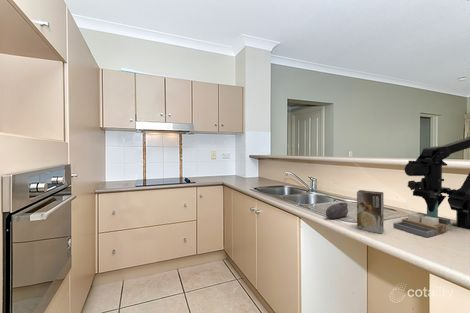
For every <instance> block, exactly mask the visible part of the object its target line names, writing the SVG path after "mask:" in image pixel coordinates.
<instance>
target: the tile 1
mask: <svg viewBox="0 0 470 313" xmlns="http://www.w3.org/2000/svg"><path fill="white" fill-rule="evenodd" d="M407 214H408V215H407V218H408V220H412V221H416V222H422V217H424V215H421V214H416V212H411V213H407Z"/></svg>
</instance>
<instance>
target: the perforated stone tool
mask: <svg viewBox="0 0 470 313" xmlns="http://www.w3.org/2000/svg"><path fill="white" fill-rule="evenodd" d="M348 213H349V208H348V203H347V202H338V203H334V204H332V205H329V207H327V209H326V211H325V216H326V217H327V218H328V219H334V220H335V219H340V218H341V219H342V218H344V217H346V216H348Z"/></svg>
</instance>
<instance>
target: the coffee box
mask: <svg viewBox="0 0 470 313" xmlns="http://www.w3.org/2000/svg"><path fill="white" fill-rule="evenodd" d="M384 218H385V216H384V191H374V190H365V189H364V190H362V189H359V190H358V191H356V229H357V230H361V231H367V232H371V233H377V234H383V232H384V231H385V228H384V224H385V223H384V221H385V220H384Z"/></svg>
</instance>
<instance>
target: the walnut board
mask: <svg viewBox="0 0 470 313" xmlns="http://www.w3.org/2000/svg"><path fill="white" fill-rule="evenodd" d="M401 221H402V222H406V223H410V224H414V225H417V226H421V227H425V228H429V229H433V230H435V236H438V235H441V234H444V233H445V234H446V233H447V226H448V225H445V224H441V223H439V225H435V226H432V225H428V224H424V223H422V222H416V221H412V220H408V217H406V218H402V219H401Z"/></svg>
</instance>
